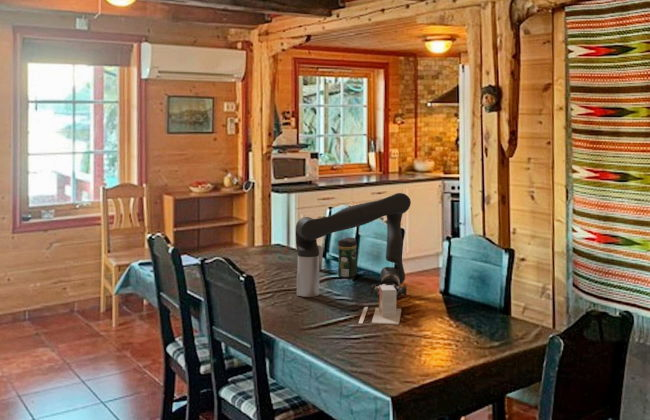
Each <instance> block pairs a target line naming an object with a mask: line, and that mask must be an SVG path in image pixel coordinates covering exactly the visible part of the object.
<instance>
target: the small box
mask: <svg viewBox="0 0 650 420" xmlns="http://www.w3.org/2000/svg"><path fill="white" fill-rule="evenodd" d="M378 286H379V294H378V308H379V312H380V314H381V316H382V317H396V308H397V295H396V294H397V290H396V289H395V288H394V286H393V285H380V284H379V285H378Z"/></svg>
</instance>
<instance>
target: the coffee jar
mask: <svg viewBox="0 0 650 420" xmlns="http://www.w3.org/2000/svg"><path fill="white" fill-rule="evenodd" d="M337 242H338V243H337V249H338V265H337V266H338V270H337V276H338V277H340V278H343V279H344V278H353V277H355V276H356V275H357V274H358V271H357V269H358V268H357V244H358V243H357V239H356V238H355V237H345V238H343V239H341V238H340V240H338V241H337Z"/></svg>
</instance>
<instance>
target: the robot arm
mask: <svg viewBox="0 0 650 420" xmlns="http://www.w3.org/2000/svg"><path fill="white" fill-rule="evenodd" d="M411 202H412V201H411V199H410V197H409V196H408V195H407V194H406V193H403V192H397V193H393V194H391V195H390V196H387V197H384V198H380V199H379V200H374V201H368V202H364V203H359V204H355V205H352V206H347V207H345V208H342V209H340V210H338V211H337V212H335V213H333V214H331V215H328V216H323V217H318V218H313V217H309V216H303V217H301V218H300V219H299V220H298V221H297V222H296V226H295V247H296V251H297V253H296V254H297V273H296V296H297V297H298V296H299V297H303V298H311V297H312V298H313V297H318V296H320V270H319V248H318V246H317V245H318V242H317V240H318V239H320V238H322V237H325V236H328V235H329V234H333V233H336V232H342V231H345V230H349V229H354V228H357V227H361V226H364V225H367V224H369V223H372V222H374V221H376V220H378V219H380V218H383V217H386V223H387V224H386V227H387V228H386V229H387V233H386V249H385V250H386V253H385V260H386V261H387V262H389V263H393V264H395V265H396V267H394V266H393V267H392V266H385V267H383V268H382V269H381V270H380V280H381V282H380V284H379V285H393V286H394V288H395V289H396V290H397V294H396V296H397V298H400V297H402V295H403V296H407V294H408V293H407V291H408V290H407V285H402V284H403V283H404V282H405V280H406V273H405V269H404V264H403V249H404V240H403V234H402V228H401V227H402V218H403V214H405V213H406V212H407V211H408V210H409V209H410V208H411V204H412V203H411ZM379 285H376V284H375V283H372V284H371V286H370V287H369V294H371V295H373V296H375V297H378V296H379ZM400 285H402V286H400Z"/></svg>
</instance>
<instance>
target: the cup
mask: <svg viewBox="0 0 650 420" xmlns="http://www.w3.org/2000/svg"><path fill="white" fill-rule="evenodd" d="M317 246H318V248H319V271H322V265H323V251H324V249H325V248H324V247H323V245H321V244H317Z"/></svg>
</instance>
